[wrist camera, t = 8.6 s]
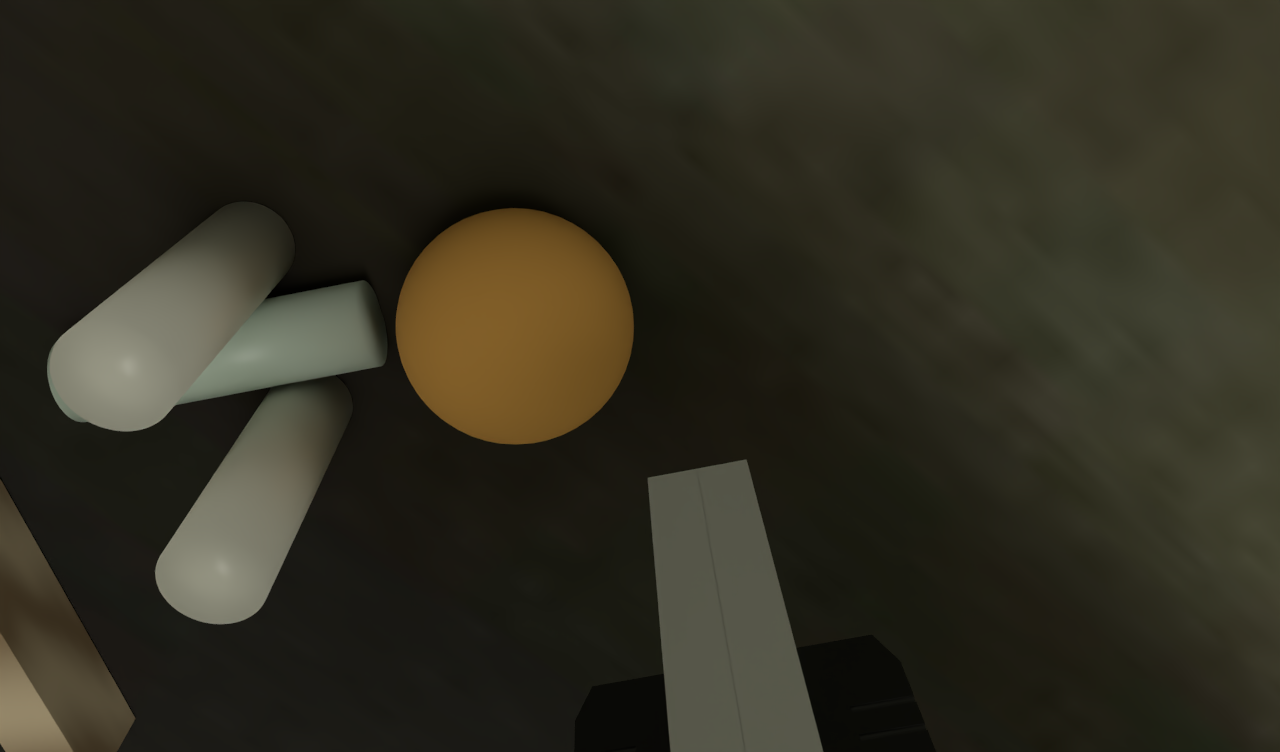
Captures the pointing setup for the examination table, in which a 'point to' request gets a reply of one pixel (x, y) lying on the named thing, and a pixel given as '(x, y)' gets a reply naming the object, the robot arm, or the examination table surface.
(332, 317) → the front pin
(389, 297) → the examination table surface
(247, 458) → the pin
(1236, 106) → the examination table surface
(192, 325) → the pin
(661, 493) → the robot arm
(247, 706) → the examination table surface
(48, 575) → the wooden bar
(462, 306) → the ball
